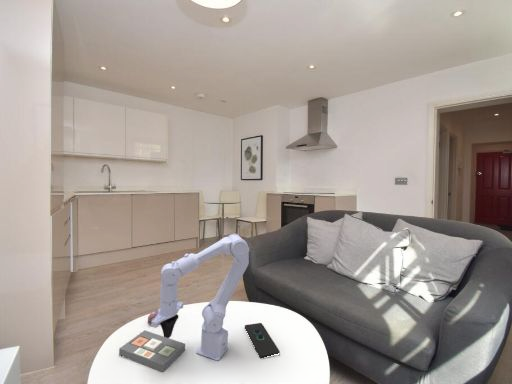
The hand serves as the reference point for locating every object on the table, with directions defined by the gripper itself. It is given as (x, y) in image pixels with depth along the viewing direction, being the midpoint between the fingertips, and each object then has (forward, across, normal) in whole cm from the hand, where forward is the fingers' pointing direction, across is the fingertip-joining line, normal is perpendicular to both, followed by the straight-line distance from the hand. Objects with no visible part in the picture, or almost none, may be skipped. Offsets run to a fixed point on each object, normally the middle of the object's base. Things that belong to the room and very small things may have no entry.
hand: (167, 336), depth 92 cm
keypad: (+8, 0, -6) cm, 10 cm away
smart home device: (+9, -24, +27) cm, 37 cm away
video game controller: (+8, -17, -17) cm, 26 cm away
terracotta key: (+7, 0, -12) cm, 14 cm away
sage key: (+7, 0, 0) cm, 7 cm away
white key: (+6, 0, -6) cm, 8 cm away
